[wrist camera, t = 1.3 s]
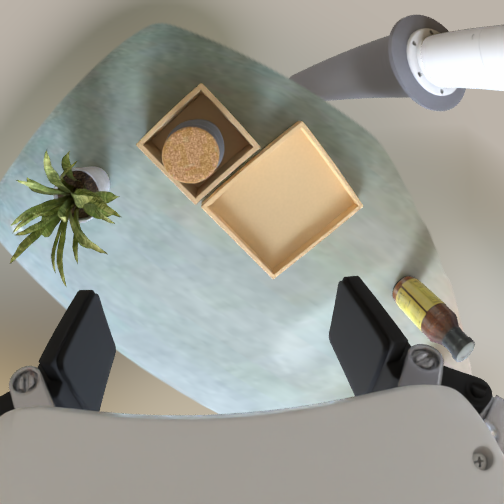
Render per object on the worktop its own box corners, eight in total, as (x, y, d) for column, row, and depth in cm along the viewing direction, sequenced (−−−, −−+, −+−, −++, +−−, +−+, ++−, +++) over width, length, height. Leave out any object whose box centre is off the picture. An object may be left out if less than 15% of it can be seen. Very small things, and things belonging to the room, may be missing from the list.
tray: (298, 120, 37) (302, 121, 35) (357, 202, 43) (363, 206, 41) (201, 202, 40) (200, 207, 38) (270, 272, 46) (273, 279, 44)
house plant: (96, 255, 41) (53, 321, 27) (37, 195, 36) (-27, 238, 21) (157, 192, 39) (124, 240, 24) (91, 123, 33) (25, 134, 18)
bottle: (224, 121, 35) (230, 123, 22) (219, 164, 38) (222, 193, 24) (179, 117, 34) (157, 118, 21) (175, 161, 37) (152, 188, 23)
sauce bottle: (400, 306, 53) (454, 374, 36) (385, 292, 51) (442, 365, 33) (422, 282, 52) (482, 345, 34) (408, 267, 49) (474, 332, 32)
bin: (203, 87, 33) (201, 82, 28) (254, 143, 37) (260, 147, 33) (145, 140, 35) (135, 144, 31) (197, 193, 39) (195, 205, 35)
